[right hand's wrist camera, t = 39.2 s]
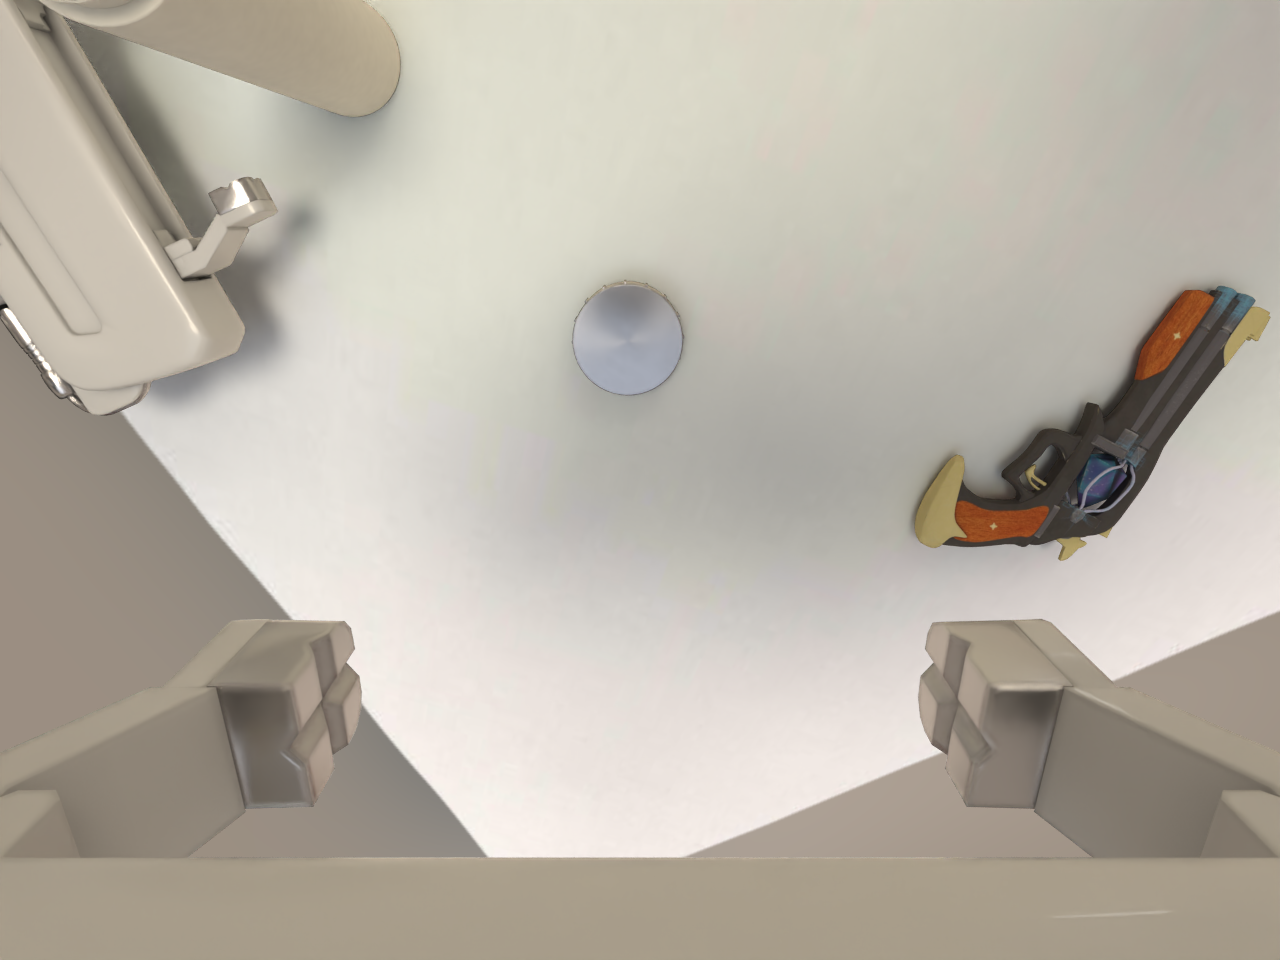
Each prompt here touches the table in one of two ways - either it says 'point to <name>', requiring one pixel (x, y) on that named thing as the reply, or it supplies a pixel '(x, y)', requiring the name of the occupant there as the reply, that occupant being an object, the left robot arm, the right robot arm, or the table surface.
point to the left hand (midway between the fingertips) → (201, 79)
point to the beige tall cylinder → (265, 43)
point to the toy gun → (1100, 439)
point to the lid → (627, 338)
